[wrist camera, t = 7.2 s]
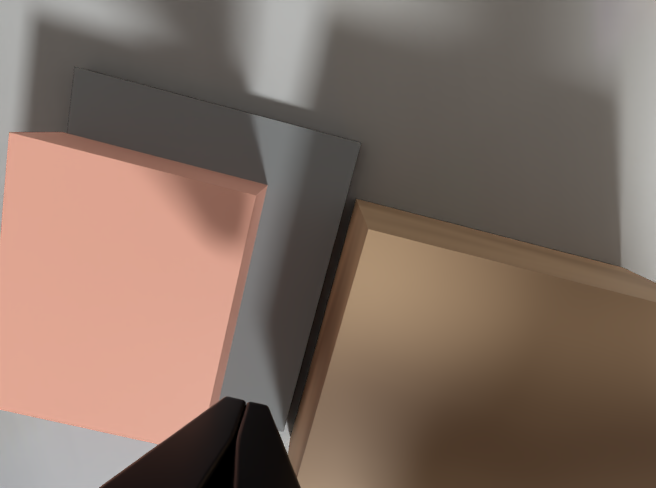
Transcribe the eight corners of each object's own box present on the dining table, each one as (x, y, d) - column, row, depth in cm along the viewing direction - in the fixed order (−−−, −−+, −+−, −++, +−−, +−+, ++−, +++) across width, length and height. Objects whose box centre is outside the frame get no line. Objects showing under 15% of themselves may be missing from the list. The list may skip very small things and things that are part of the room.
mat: (284, 423, 14) (283, 431, 14) (47, 369, 14) (39, 376, 14) (360, 142, 12) (361, 142, 12) (83, 68, 12) (74, 66, 11)
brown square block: (524, 491, 15) (593, 617, 11) (289, 438, 14) (276, 551, 11) (622, 267, 13) (746, 325, 9) (356, 198, 13) (368, 228, 9)
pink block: (-14, 406, 11) (35, 366, 13) (198, 453, 12) (217, 407, 14) (8, 132, 10) (62, 132, 12) (255, 195, 10) (267, 185, 12)
